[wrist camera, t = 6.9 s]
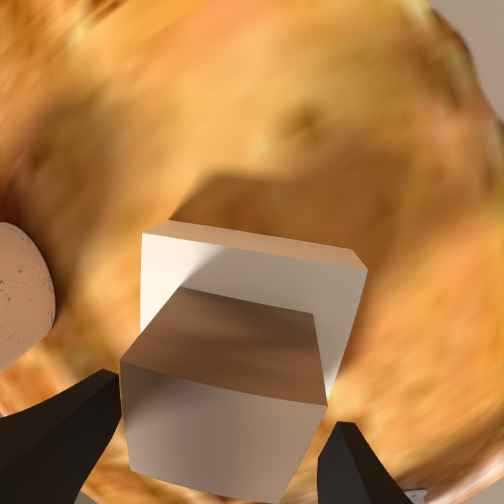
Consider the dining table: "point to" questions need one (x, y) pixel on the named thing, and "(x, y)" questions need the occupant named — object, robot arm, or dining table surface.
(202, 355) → the walnut cube
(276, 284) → the cream block
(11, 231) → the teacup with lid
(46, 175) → the dining table surface
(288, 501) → the dining table surface
